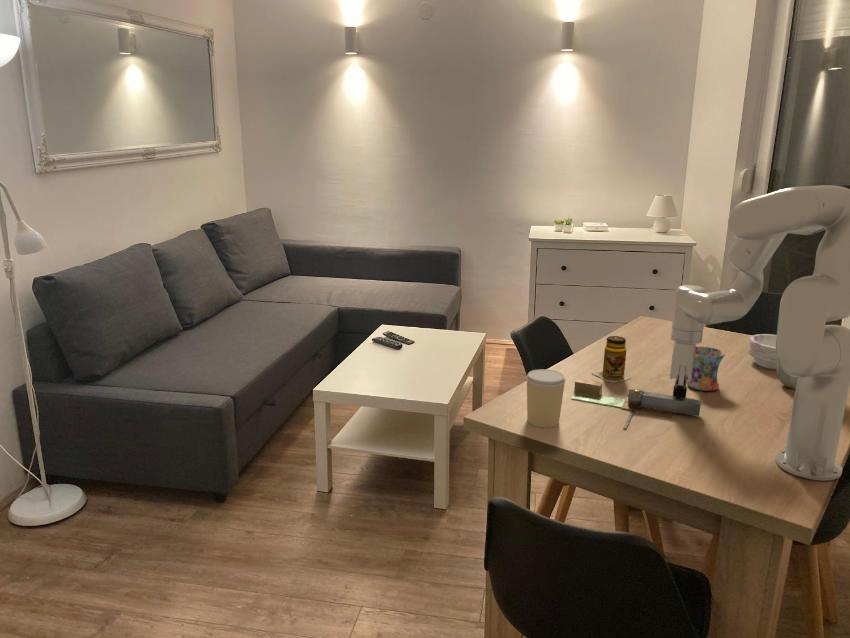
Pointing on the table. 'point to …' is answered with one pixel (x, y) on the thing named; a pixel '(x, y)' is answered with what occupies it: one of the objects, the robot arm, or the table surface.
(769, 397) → the table surface
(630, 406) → the plate
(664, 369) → the table surface
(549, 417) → the coffee cup
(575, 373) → the table surface
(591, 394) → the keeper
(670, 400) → the swing bar
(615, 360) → the condiment
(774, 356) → the paper bowls
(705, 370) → the mug
